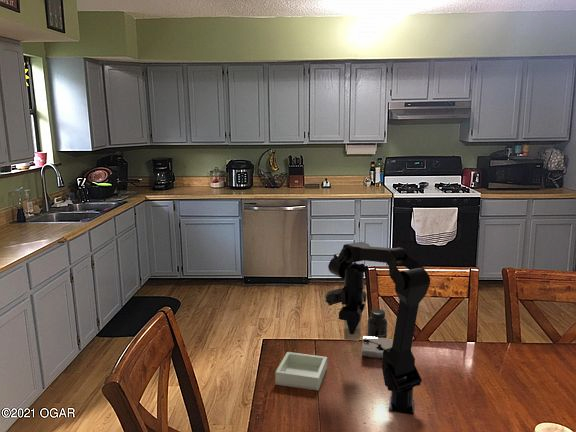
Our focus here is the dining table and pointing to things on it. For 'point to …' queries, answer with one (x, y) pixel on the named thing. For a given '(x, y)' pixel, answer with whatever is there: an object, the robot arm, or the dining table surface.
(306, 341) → the dining table surface
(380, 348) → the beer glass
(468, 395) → the dining table surface
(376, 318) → the supplement bottle
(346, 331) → the birch block
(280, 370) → the bin
